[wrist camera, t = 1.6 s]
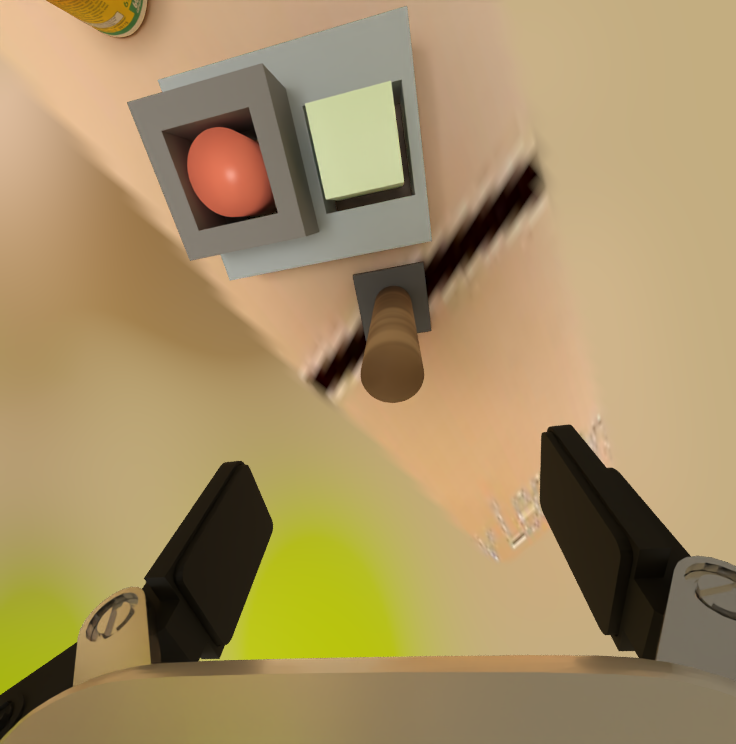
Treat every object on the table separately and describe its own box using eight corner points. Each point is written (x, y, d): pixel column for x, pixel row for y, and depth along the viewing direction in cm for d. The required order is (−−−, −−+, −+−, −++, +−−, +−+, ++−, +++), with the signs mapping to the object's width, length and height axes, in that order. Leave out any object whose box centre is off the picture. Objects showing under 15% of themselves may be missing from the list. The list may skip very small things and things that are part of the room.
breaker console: (200, 102, 25) (107, 53, 17) (404, 45, 23) (410, -44, 15) (254, 269, 30) (202, 292, 22) (425, 235, 28) (438, 247, 20)
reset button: (217, 151, 23) (174, 137, 19) (278, 135, 22) (248, 117, 18) (239, 220, 25) (205, 223, 20) (296, 208, 24) (274, 208, 20)
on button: (322, 124, 22) (304, 103, 18) (391, 106, 22) (391, 80, 17) (338, 200, 24) (325, 199, 20) (402, 186, 24) (404, 182, 19)
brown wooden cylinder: (371, 289, 29) (354, 351, 17) (408, 282, 29) (419, 341, 16) (378, 324, 31) (367, 406, 18) (413, 318, 30) (427, 398, 18)
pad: (353, 274, 29) (352, 275, 29) (422, 261, 29) (423, 262, 28) (366, 338, 32) (366, 341, 31) (430, 328, 31) (431, 330, 31)
